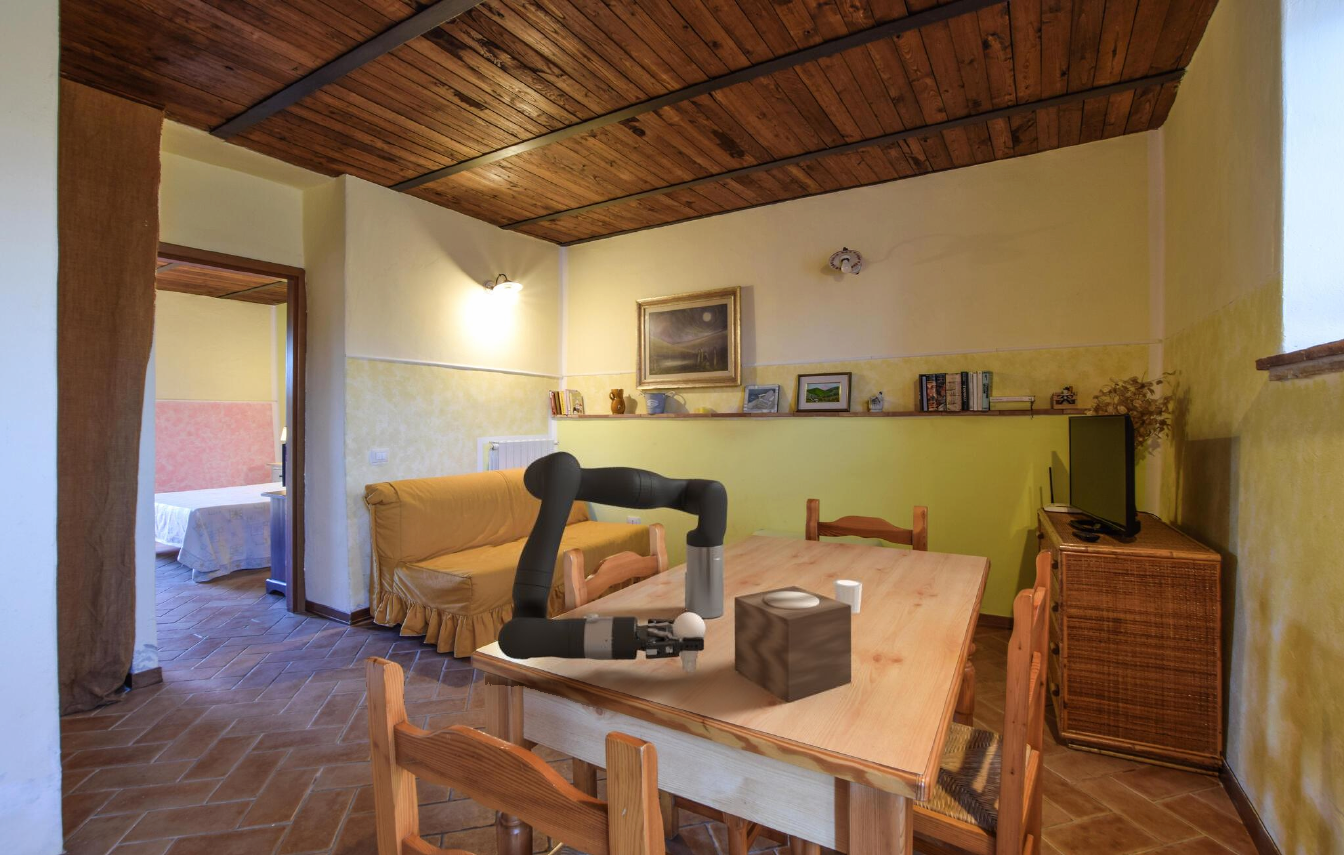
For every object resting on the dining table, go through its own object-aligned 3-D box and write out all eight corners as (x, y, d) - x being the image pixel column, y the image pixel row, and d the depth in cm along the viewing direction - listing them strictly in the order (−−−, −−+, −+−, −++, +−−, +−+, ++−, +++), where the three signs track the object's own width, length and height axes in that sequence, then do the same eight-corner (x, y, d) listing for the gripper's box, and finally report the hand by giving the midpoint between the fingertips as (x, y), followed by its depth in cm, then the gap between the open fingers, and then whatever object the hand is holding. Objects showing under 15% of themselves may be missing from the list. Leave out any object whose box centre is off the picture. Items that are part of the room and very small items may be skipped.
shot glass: (865, 608, 149) (865, 581, 149) (858, 616, 143) (858, 587, 143) (838, 604, 152) (838, 577, 152) (830, 611, 147) (830, 583, 147)
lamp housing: (734, 670, 111) (734, 595, 111) (795, 654, 119) (795, 583, 119) (788, 702, 98) (788, 617, 98) (852, 681, 106) (852, 602, 106)
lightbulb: (703, 681, 104) (703, 619, 104) (669, 678, 106) (669, 617, 105) (707, 667, 110) (707, 608, 110) (676, 664, 112) (676, 606, 111)
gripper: (607, 631, 100) (705, 630, 101) (614, 605, 115) (700, 604, 115) (607, 675, 101) (705, 674, 101) (614, 643, 115) (700, 642, 115)
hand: (702, 637), depth 108 cm, fingers closed on lightbulb, 5 cm apart
